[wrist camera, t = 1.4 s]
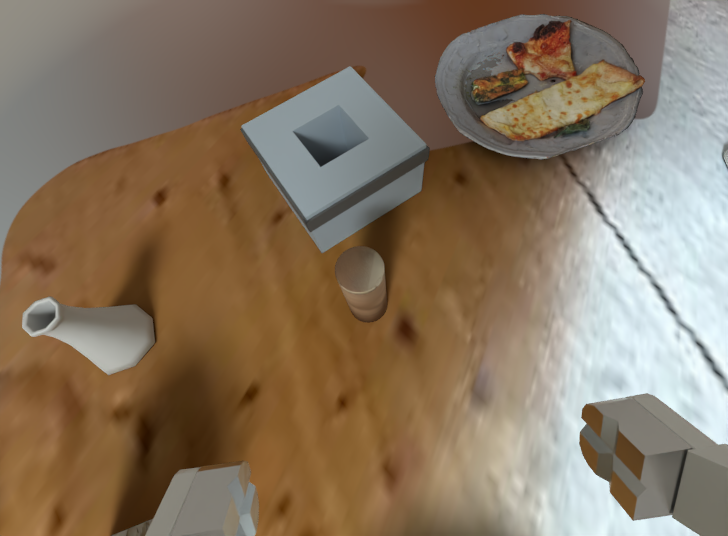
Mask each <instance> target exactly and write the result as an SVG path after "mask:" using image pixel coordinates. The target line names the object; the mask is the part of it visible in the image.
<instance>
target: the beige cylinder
mask: <svg viewBox="0 0 728 536" xmlns="http://www.w3.org/2000/svg"><path fill="white" fill-rule="evenodd" d="M335 275H336V278H337V280H338V283H339V285H340V287H341V289H342V292H343V294H344V296H345V299H346V301H347V303H348V305H349V308H350V310H351V312H352V314H353V315H354V317H355V318H357V319H358V320H360V321H362V322H374V321H376V320H378V319H380V318H381V317H382V316H383V315H384V313H385V312H386V309H387V294H386V281H385V269H384V262H383V260H382V258H381V256H380V255H379V254H378V253H377V252H376V251H375V250H373V249H371V248H369V247H365V246H357V247H352V248H350V249H348V250H346V251H345V252H343V253H342V254H341V255H340V257H339V258H338V260H337V262H336V265H335Z"/></svg>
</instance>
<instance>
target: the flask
mask: <svg viewBox="0 0 728 536" xmlns="http://www.w3.org/2000/svg"><path fill="white" fill-rule="evenodd" d="M22 328H23V329H24V330H25V331H26V332H27V333H28V334H29V335H30V336H33V337H36V336H39V335H47V336H51V337H55V338H57V339H59V340H61V341H63V342H65V343H67V344H70V345H71V346H72V347H74V348H75V349H76V350H78V351H79V352H80V353H82V354H83V355H84V356H86V357H87V358H88V359H90V360H91V361H92V362H93V363H94V364H95V365H97V366H98V367H99V368H100V369H101V370H103V371H104V372H105V373H107V374H108V375H110V374H113V373H116V372H119V371H122V370H125V369H128V368H130V367H133V366H136V364H137V363H138V362H139V361H140V360H141V359H142V357H143V356H144V355H145V354H146V353H147V352H148V351H149V349H150V348H151V347H152V346H153V345H154V344H155V337H154V327H153V318H152V317H151V316H149V315H148V314H147V313H146V312H144V311H143V310H142V309H141V308H140V307H138V306H137V305H136V304H135V305H123V306H114V307H99V308H79V307H70V306H66V305H63V304H60V303H59V302H58V301H57V300H56V299H54V298H53V297H47V298H44V299H41V300H38V301H35V302H34V303H33V304H32V305H31V306H30V307H29V308H28V309H27V310H26V311H25V312H24V313H23V322H22Z"/></svg>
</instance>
